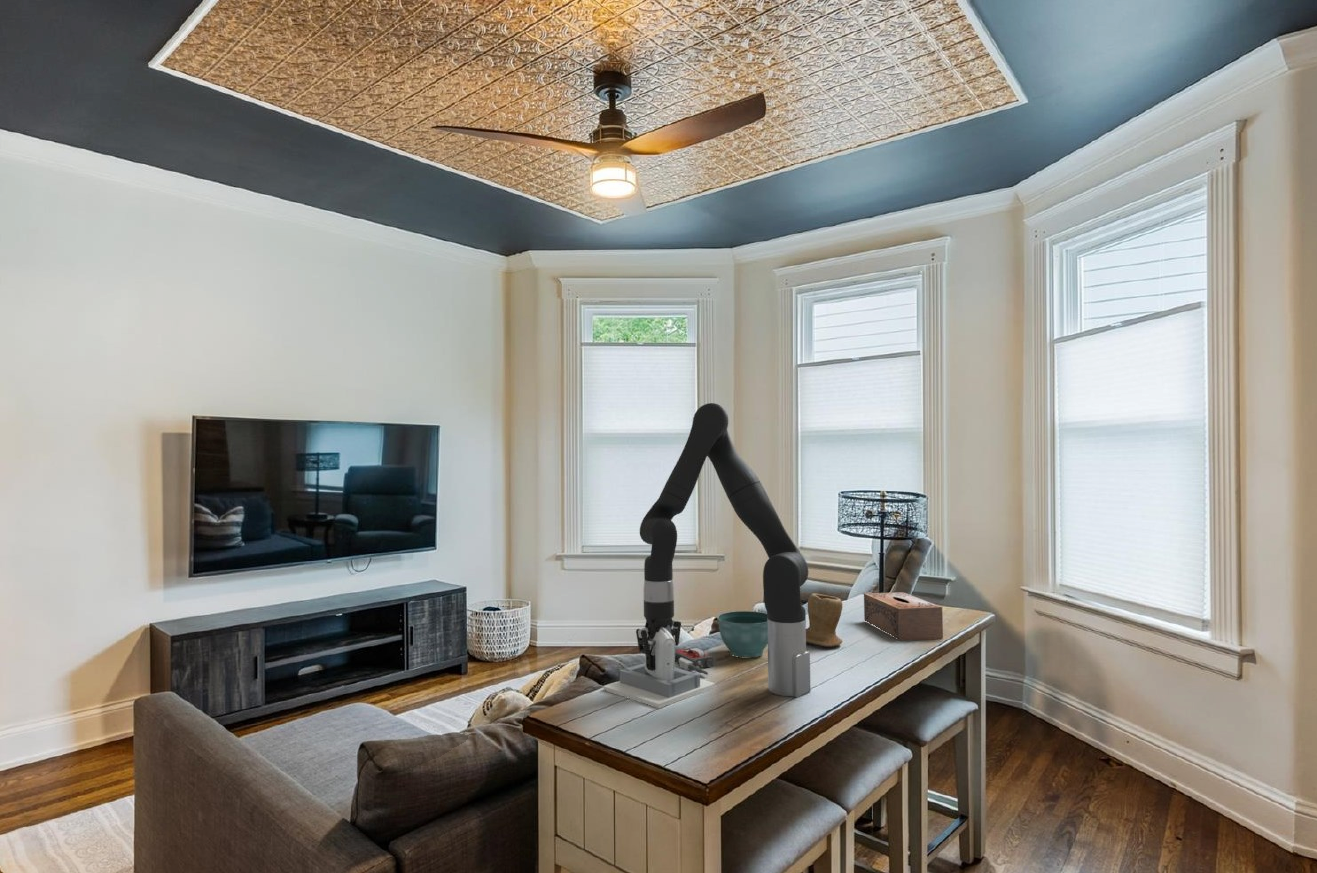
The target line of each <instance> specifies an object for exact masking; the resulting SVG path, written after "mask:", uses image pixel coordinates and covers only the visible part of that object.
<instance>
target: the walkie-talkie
mask: <svg viewBox="0 0 1317 873" xmlns="http://www.w3.org/2000/svg"><path fill="white" fill-rule="evenodd" d="M675 663H678V664H679V667H680V669H682V670H686V671H694V672H696V673H698V674H704V675H706V676H708V675H709V672H708V671H706V670H704V669H705V668H712V667H714V657H713V656H711V655H708V654H706V652H705V651H704V650H702V649H700V648H697V647H694V648H692V646H688V647H683V648H678V649H677V648H675Z"/></svg>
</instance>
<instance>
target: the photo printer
mask: <svg viewBox="0 0 1317 873" xmlns="http://www.w3.org/2000/svg"><path fill="white" fill-rule="evenodd" d="M662 628H663V627H662ZM650 640H651V641H652V642H653V641H654V640H655V641H656V645H655V654H654V655H655V670H653V671H651V670H648V669H647V667H646V654H645V653H644V663H645V670H646V671H647V672H648V673H649V674H650V675H651V676H653V677H656V678H659V679H663V680H666V681H671V680H674V668H676V667H675V666H676V661H675V650H676V646H675V637H674V638H673V637H672V635H671V634H670V633H669V632H668V631H667V630H666V629H665V628H663V631H662V630H660V631H659V632H656V634H655V637H654V638H653V639H651V638H650ZM651 647H652V645H651V646H650V650H651Z"/></svg>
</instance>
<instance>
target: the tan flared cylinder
mask: <svg viewBox="0 0 1317 873" xmlns="http://www.w3.org/2000/svg"><path fill="white" fill-rule="evenodd" d="M842 612H843V601H842V600H841V598H839V597H837V596H831V595H826V594H822V593H821V594H820V593H814V592H813V593H811V594H810V595H809V597H808V600H807V615H808V621H809V624H808V628H807V627H806V644H811V645H814V646H815V645H816V646H821V647H838V646H840V645H841V644H842V643H843V640H842V639H841V638H840V637H839V636H837V632H836V630H837V626H838V624H839V622H840V620H841V616H842Z"/></svg>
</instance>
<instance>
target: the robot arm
mask: <svg viewBox="0 0 1317 873" xmlns="http://www.w3.org/2000/svg"><path fill="white" fill-rule="evenodd" d="M728 428H729V416H728V412H727V411H726V409H725V408H724V407H723V406H722V405H721V404H717V403H713V402H711V403H705V404H703V405H701V406H699V407H698V409H697V410H696V411H695V413H694V415H693V418H692V424H691V428H690V432H689V435H688V438H687V439H686V443H685V445H684V447H683V449H682V452H681V454H680V456H679V457H678V460H677V461H676V463H675V466H674V467H673V469H672V471H671V473H670V475H669V476H668V479H666V483H665V484H664V486H663V488H662V491H661V492H660V495H659V496H658V498H657V500H656V501H655V502H654V503H653V505H652V506H651V507H650V508H649V510H648V511H647V513H646V514H645V516H644V517H643V518H642V521H641V523H640V526H639V536H640V537H639V538H640V539H641V540H642V541H643V542H644V543H646V544H647V545H651V550H650V555H648V556H647V557H646V558H645V559H644V566H643V567H644V569H643V570H644V571H643V572H644V573H643V574H644V576H643V577H644V583H643V617H644V618H645V625H644V627H643V628H637V629H636V630H635V634H636V640H637V646H638V651H639V652H640V653H642V654H644V655H645V654H646V667H647V669H648V670H651V671H653V670H655V655H654V654H655V645H656V641H655V640H654V641H653V642H652V641H651V640H650V638H651V639H653V638H654V637H655V634H656V632H659V631H660V630H662V631H663V628H665V629H666V630H667V631H668V632H669V633H670V634H671V635H672V637H673V638H674V640H675V647H678V646H679V644H680V638H681V637H680V636H681V629H682V622H681V621H678V620H674V619H673V618H674V616H675V594H674V593H675V591H674V590H675V587H674V581H673V578H674V577H673V576H674V574H673V561H674V557H675V553H676V547H677V543H678V542H677V541H678V531H677V527H676V525H675V523H674V522H673V518H674V517H675V516H676V515H680V514H681V513H683V511H684V510H685V509H686V506H687V505H688V502H689V500H690V498H691V496H692V494H693V493H694V492H693V491H694V489H695V487H696V485H697V482H698V479H699V478H700V474H701V472H702V469H703V466H704V463H705V462H706V460H707V457H708V459H709V461H710V462H711V464H712V466H713V468H714V470H715V472H716V476H717V477H718V479H719V482H720V484H721V486H722V488H723V490H724V493H725V494H726V497H727V499H728V500H729V502H730V504H731V507H732V508H733V511H734V512H735V513H736V515H737V517H738V518H739V519H740V520H741V521H742V523H743V524H744V525H745V526H746V527H747V529H748V530H749V531H751V532H752V534H753V535H754V536H755V537H756V538H757V539H758V541H759V542H760V544H761V545H762V547H763V549H764V551H765V553H766V556H767V557H768V559H767V560H766V561H765V564H764V566H763V571H762V588H763V604H764V608H765V611H766V613H767V624H768V644H767V675H768V678H767V679H768V680H767V681H768V682H767V683H768V691H769V692H770V693H772V694H774V695H777V696H783V697H794V698H798V697H801V696H803V695H805V694H807V693H810V692H811V654H810V651H809V650H807V642H806V629H807V624H806V622H807V620H806V618H807V617H806V608H805V607H804V606H803V605H802V601H801V599H802V598H801V587H802V586H803V585H804V584H805V583H806V582H807V580H808V577H809V565H808V563H807V561H806V559H805V558H804V556H803V554H802V553H801V552H800V550H799V549H798V547H797V546H796V544H795V543H794V541H793V539H792V538H791V537H790V536H789V534H788V532H787V531H786V529H785V527H784V525H783V523H782V521H781V518H780V517H779V514H778V513H777V511H776V509H775V507H774V505H773V503H772V501H771V499H770V497H769V496H768V494H767V491H766V490H765V487H764V486H763V484H762V482H761V480H760V479H759V478H758V476H757V474H756V473H755V472H754V471H753V469H752V468H751V467H750V466H749V464H748V463H746V461H745V460H744V459H743V458H742V457H741V456H740V455H739V453H738V451H737V450H736V448H735V446H734V443H733V441H732V439H731V436H730V434H729V432H728ZM662 627H663V628H662ZM651 645H652V647H651V650H650V646H651Z"/></svg>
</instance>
